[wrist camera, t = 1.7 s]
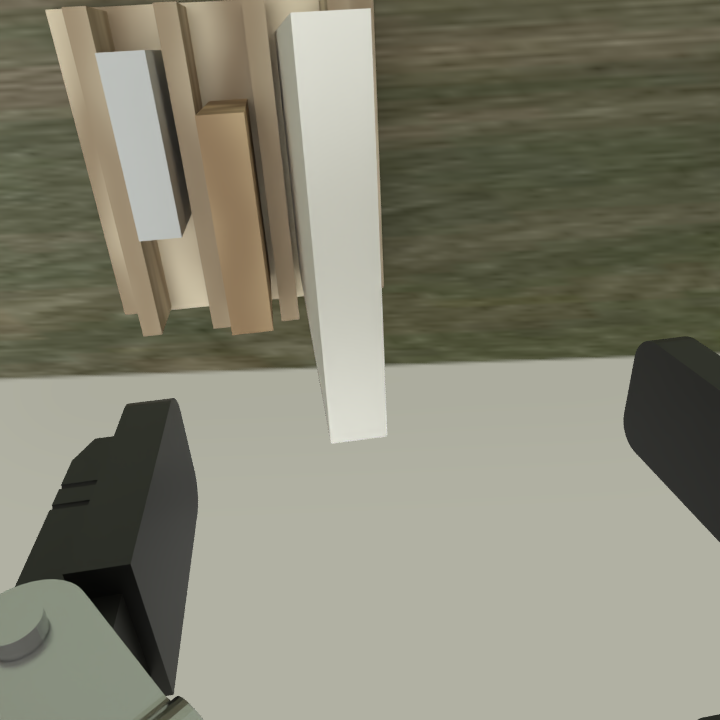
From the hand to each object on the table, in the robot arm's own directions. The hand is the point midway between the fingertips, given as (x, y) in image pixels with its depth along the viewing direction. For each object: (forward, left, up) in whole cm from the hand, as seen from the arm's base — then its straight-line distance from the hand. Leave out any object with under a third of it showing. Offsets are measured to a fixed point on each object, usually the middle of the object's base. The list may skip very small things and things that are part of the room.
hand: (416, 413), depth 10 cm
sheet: (0, 0, -26) cm, 26 cm away
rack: (+3, -2, -28) cm, 28 cm away
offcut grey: (+6, -6, -26) cm, 28 cm away
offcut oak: (+4, -1, -26) cm, 27 cm away
